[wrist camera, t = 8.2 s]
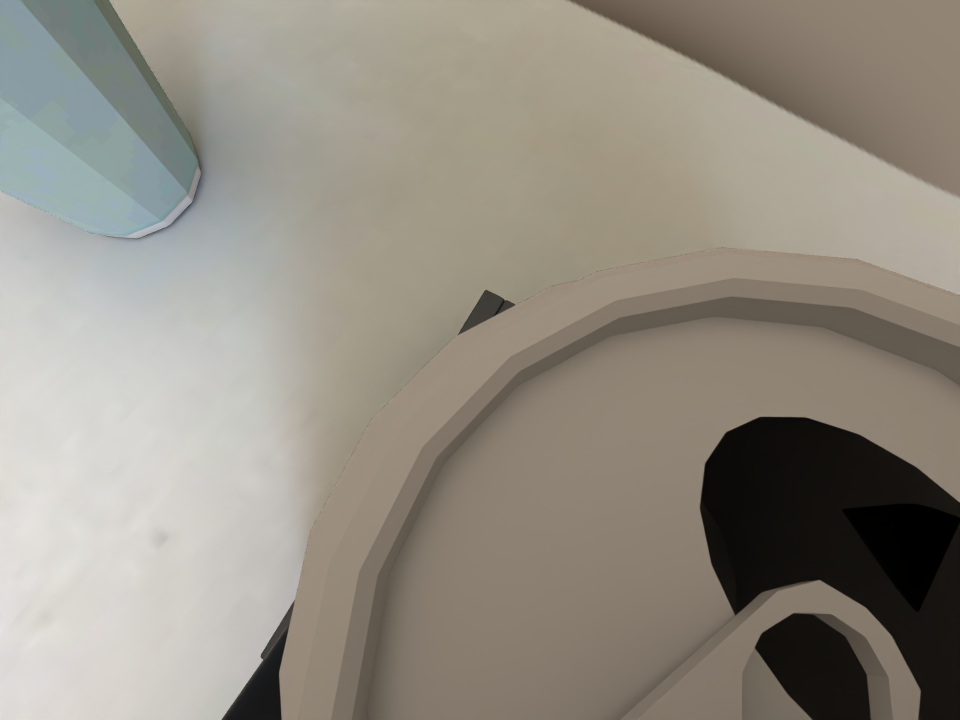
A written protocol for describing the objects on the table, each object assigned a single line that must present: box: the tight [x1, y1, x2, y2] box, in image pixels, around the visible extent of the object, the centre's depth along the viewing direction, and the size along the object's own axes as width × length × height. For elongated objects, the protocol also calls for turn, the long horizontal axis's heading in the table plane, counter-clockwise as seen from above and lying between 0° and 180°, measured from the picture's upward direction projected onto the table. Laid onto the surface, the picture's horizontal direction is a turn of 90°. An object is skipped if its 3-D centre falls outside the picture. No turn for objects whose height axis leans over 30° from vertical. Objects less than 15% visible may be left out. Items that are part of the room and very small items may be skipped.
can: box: [279, 248, 960, 720], centre depth 9 cm, size 8×8×12 cm
